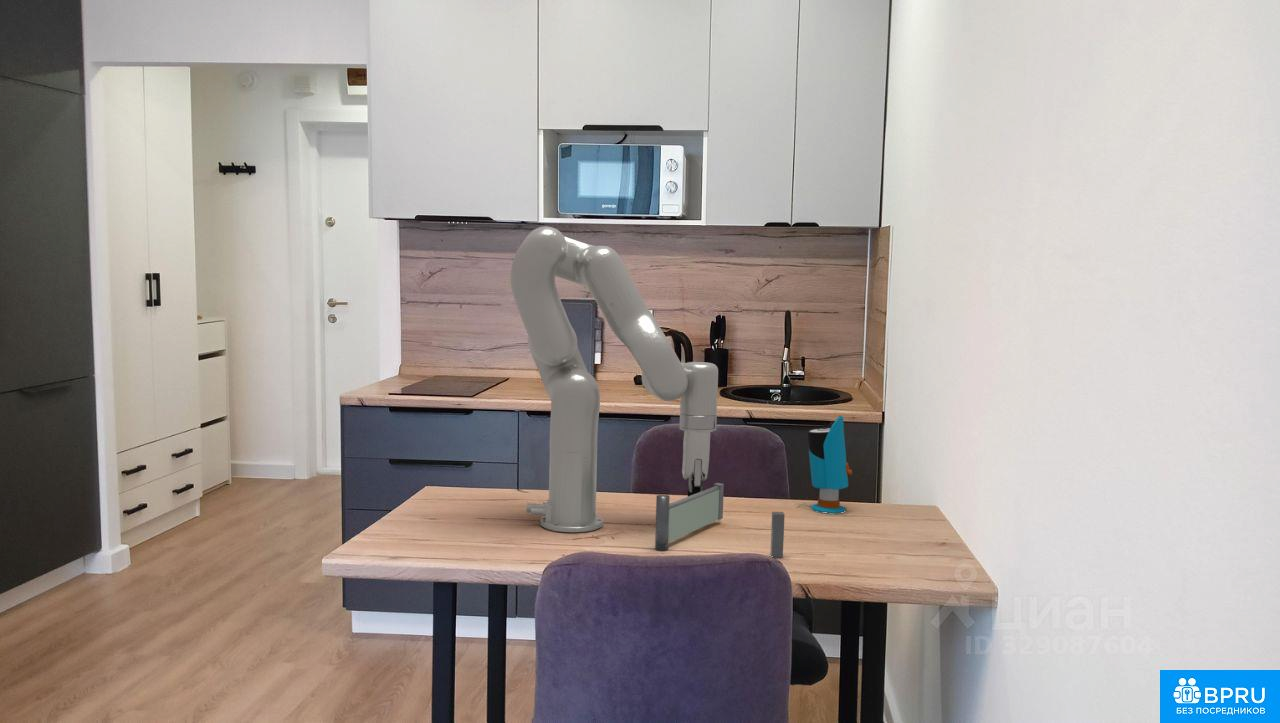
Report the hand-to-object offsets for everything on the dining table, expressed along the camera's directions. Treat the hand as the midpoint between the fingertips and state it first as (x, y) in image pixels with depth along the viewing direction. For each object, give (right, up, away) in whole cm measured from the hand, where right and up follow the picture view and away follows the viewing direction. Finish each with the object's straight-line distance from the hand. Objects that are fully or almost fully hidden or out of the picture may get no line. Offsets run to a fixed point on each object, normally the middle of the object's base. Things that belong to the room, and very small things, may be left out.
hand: (695, 510), depth 191 cm
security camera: (+30, -2, +15) cm, 34 cm away
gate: (-1, -2, -9) cm, 9 cm away
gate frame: (+3, -4, -21) cm, 22 cm away
